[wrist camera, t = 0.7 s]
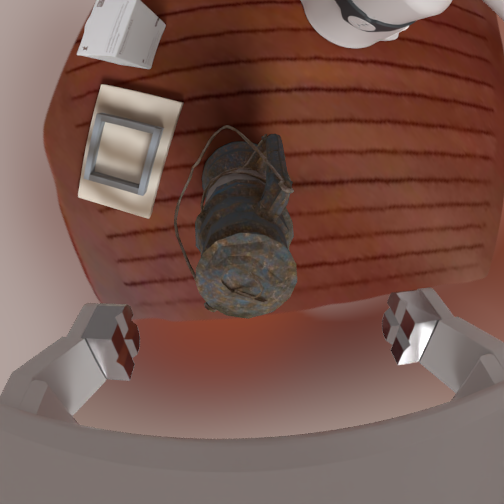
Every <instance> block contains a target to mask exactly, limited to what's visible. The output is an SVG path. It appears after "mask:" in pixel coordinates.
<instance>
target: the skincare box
mask: <svg viewBox="0 0 504 504" xmlns="http://www.w3.org/2000/svg"><path fill="white" fill-rule="evenodd" d="M165 27H166V24H165V23H164V22H163V21H162V20H161V19H160V18H159V17H158V16H156V15H155V14H154V13H153V12H152V11H151V10H150V9H149V8H148V7H147V6H146V5H145V4H144V3H143V2H142V1H141V0H96V2H95V5H94V7H93V10H92V13H91V15H90V17H89V19H88V20H87V22H86V25H85V32H84V35H83V38H82V41H81V44H80V46H79V49H78V52H77V55H81V56H86V57H91V58H95V59H100V60H104V61H108V62H112V63H115V64H119V65H126V66H132V67H139V68H145V69H151V67H152V63H153V59H154V56H155V52H156V49H157V47H158V44H159V41H160V38H161V36H162V34H163V31H164V29H165Z"/></svg>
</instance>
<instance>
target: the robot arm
mask: <svg viewBox="0 0 504 504" xmlns="http://www.w3.org/2000/svg"><path fill="white" fill-rule="evenodd" d="M483 1H484V2H485V3H486V4H487V5H488V6H489V7H490V8H491V9H492V10H493V11H494V12H495V13H496V14H497V15H499V17H500V18H501V19H502V20H503V21H504V0H483ZM301 2H302V4H303V7H304V10H305V14H306V16H307V18H308V20H309V22H310V24H311V25H312V26H313V28H314V29H315V30H316V31H317V32H318V33H319V34H320V35H321V36H323V37H324V38H326V39H327V40H329V41H330V42H332V43H334V44H337V45H339V46H343V47H347V48H364V47H367V46H370V45H372V44H374V43H376V42H378V41H391V40H394V39H396V38H397V37H398V35H399V32H401V31H403V30H405V29H407V28H408V27H409V25H411V24H413V23H414V22H415V21H416V20H419V19H423V18H426V17H430V16H434V15H438V14H440V13H442V12H443V11H444V10H445V9H446V8H447V7H448V6H449V5H450V3H451V2H452V0H301ZM388 305H389V307H390V308H389V309H388V310H387V311H386V312H385V313H384V316H383V319H382V331H383V335H384V337H385V339H386V341H388V342H389V343H391V344H392V348H391V352H392V354H393V356H394V358H395V360H396V362H397V365H402V364H408V363H413V362H419V361H420V364H422V365H423V366H424V367H425V368H426V369H428V370H429V371H430V372H431V373H432V374H434V375H435V376H436V377H437V378H438V379H440V380H441V381H442V382H443V383H444V384H446V385H447V386H448V387H449V388H450V389H452V390H453V391H454V392H455V393H456V394H455V396H454V397H453V399H452V400H451V401H450V402H447V403H444V404H441V405H438V406H435V407H431V408H429V409H425V410H421V411H418V412H414V413H411V414H407V415H404V416H399V417H396V418H392V419H387V420H383V421H379V422H374V423H369V424H364V425H359V426H354V427H348V428H343V429H337V430H330V431H323V432H316V433H308V434H300V435H290V436H279V437H264V438H245V439H244V438H242V439H197V438H176V437H175V438H174V437H161V436H150V435H141V434H131V433H124V432H117V431H111V430H104V429H98V428H93V427H88V426H82V425H79V424H78V422H77V421H76V420H75V419H74V418H73V415H74V414H75V413H76V412H77V411H78V410H79V409H80V408H81V406H82V405H83V404H84V403H85V402H86V401H87V400H88V399H89V398H90V397H91V396H92V395H93V394H94V393H95V392H96V391H97V390H98V388H99V387H100V386H101V385H102V384H103V383H104V382H105V381H106V379H112V380H130V379H131V375H132V371H133V368H134V365H135V364H134V362H133V359H132V358H133V357H134V356H136V355H137V354H138V351H139V347H140V336H139V330H138V327H137V325H136V324H135V323H133V321H131V320H132V317H133V312H132V309H131V307H130V306H129V305H127V304H101V303H100V304H95V303H87V304H85V305H84V306H83V307H82V309H81V311H80V313H79V315H78V316H77V318H76V320H75V322H74V324H73V326H72V327H71V329H70V331H69V333H68V335H67V337H62V338H60V339H59V340H57V341H56V342H55V343H53V344H52V345H50V346H49V347H47V348H46V349H45V350H43V351H42V352H40V353H39V354H38V355H36V356H35V357H33V358H32V359H31V360H29V361H28V362H26V363H25V364H24V365H22V366H21V367H20V368H18V369H17V370H15V371H14V372H13V373H12V374H11V376H10V378H9V380H8V382H7V383H6V386H5V388H4V390H3V392H2V394H1V396H0V504H504V342H502V341H500V340H499V339H497V338H495V337H493V336H492V335H490V334H488V333H486V332H485V331H483V330H481V329H479V328H477V327H475V326H474V325H472V324H470V323H468V322H467V321H465V320H463V319H461V318H459V317H454V316H453V314H452V313H451V312H450V310H449V309H448V308H447V307H446V305H445V304H444V302H443V301H442V300H441V298H440V297H439V296H438V294H437V293H436V292H435V291H434V289H432V288H423V289H417V290H410V291H401V292H392V293H391V294H390V296H389V299H388Z"/></svg>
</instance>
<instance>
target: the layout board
mask: <svg viewBox="0 0 504 504" xmlns="http://www.w3.org/2000/svg"><path fill="white" fill-rule="evenodd" d="M182 106H183V103H182V102H178V101H175V100H171V99H167V98H163V97H159V96H155V95H151V94H147V93H143V92H139V91H134V90H130V89H125V88H120V87H115V86H110V85H105V84H101V87H100V91H99V94H98V98H97V102H96V105H95V109H94V113H93V117H92V122H91V126H90V130H89V135H88V140H87V145H86V150H85V155H84V160H83V166H82V172H81V178H80V185H79V192H78V197H79V198H82V199H86V200H89V201H92V202H95V203H99V204H102V205H105V206H109V207H112V208H115V209H118V210H122V211H125V212H128V213H132V214H135V215H138V216H141V217H145V218H148V219H149V218H150V216H151V213H152V209H153V205H154V201H155V197H156V193H157V189H158V186H159V182H160V178H161V175H162V171H163V167H164V164H165V160H166V157H167V153H168V150H169V147H170V143H171V140H172V137H173V134H174V131H175V127H176V124H177V121H178V118H179V115H180V112H181V109H182Z"/></svg>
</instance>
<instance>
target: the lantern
mask: <svg viewBox="0 0 504 504" xmlns="http://www.w3.org/2000/svg"><path fill="white" fill-rule="evenodd" d="M225 128H228V129H231V130H233V131H236V132H237V133H238V134H239V135H240V136H241V137H242V138H243V139H244V140H245V141H246V142H245V141H238V142H231V143H228V144H226V145H224V146H222V147H220V148H218V149H217V150H216V151H215V152H214V153H213V154H212V155H211V156H210V157H209V159H208V160H207V161H206V163H205V166H204V171H203V175H202V187H203V190H204V192H203V197H202V201H201V213H200V214H199V215H198V216H197V219H196V222H195V231H196V246H197V248H198V249H199V251H200V252H201V258H200V261H199V263H198V265H197V267H196V274H195V272H194V270H193V269H192V267H191V265H190V263H189V260H188V258H187V255H186V253H185V250H184V248H183V245H182V243H181V240H180V238H179V234H178V228H177V223H176V220H177V215H178V210H179V205H180V201H181V198H182V196H183V194H184V192H185V190H186V188H187V186H188V184H189V182H190V180H191V177H192V173H193V170H194V168H195V167H196V166H197V165H198V164H199V162H200V160H201V158H202V156H203V155H204V153H205V151H206V149H207V147H208V146H209V144H210V143H211V141H212V140H213V138H214V137H215V136H216V135H217V134H218V133H219V132H220V131H221V130H222V129H225ZM261 138H262V140H261V141H260V142H259V144H258V145H257V144H255V143H252V142H251V141H250V140H249V139H247V138H246V137H245V136H244V135H243V134H242V133H241V132H240V131H239V130H237V129H235V128H234V127H231V126H228V125H226V126H223V127H222V128H220V129H219V130H218V131H216V132H215V133H214V134H213V135H212V137H211V138H210V139H209V141H208V143H207V144H206V146H205V148H204V150H203V152H202V153H201V155H200V157H199V159H198V161H197V162H196V163H195V164H194V165H193V167H192V169H191V172H190V176H189V178H188V181H187V183H186V185H185V187H184V189H183V191H182V193H181V196H180V198H179V200H178V203H177V206H176V210H175V219H174V226H175V232H176V237H177V239H178V242H179V244H180V247H181V249H182V252H183V255H184V257H185V260H186V262H187V265H188V267H189V269H190V271H191V273H192V275H193V277H194V279H195V281H196V285H197V288H198V290H199V293H200V294H201V296H202V297H203V298H204V299H205V301H206V302H205V303H204V306H205V308H206V309H208V310H210V311H212V312H215V311H216V310H218V311H220V312H221V313H223V314H225V315H228V316H234V317H241V318H252V317H256V316H259V315H263V314H267V313H270V312H273V311H275V310H276V309H277V308H278V307H279V306H281V305H282V304H283V303H284V302H285V301H287V300H288V299H289V298H290V296H291V294H292V291H293V289H294V287H295V285H296V283H297V271H296V263H295V261H294V259H293V257H292V255H291V253H290V251H289V245H290V243H291V241H292V239H293V236H294V235H293V224H292V220H291V218H290V215H289V213H288V211H287V209H286V206H287V204H288V200H289V196H290V193H293V192H294V191H293V189H292V187H291V186H292V181H290V177H289V175H288V172H287V167H286V162H285V155H284V150H283V145H282V140H281V137H280V136H279V135H277V134H270V135H268V136H267V134H265V135H264V136H262V137H261ZM205 196H206V204H205V205H204V207H203V202H204V199H205Z"/></svg>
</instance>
